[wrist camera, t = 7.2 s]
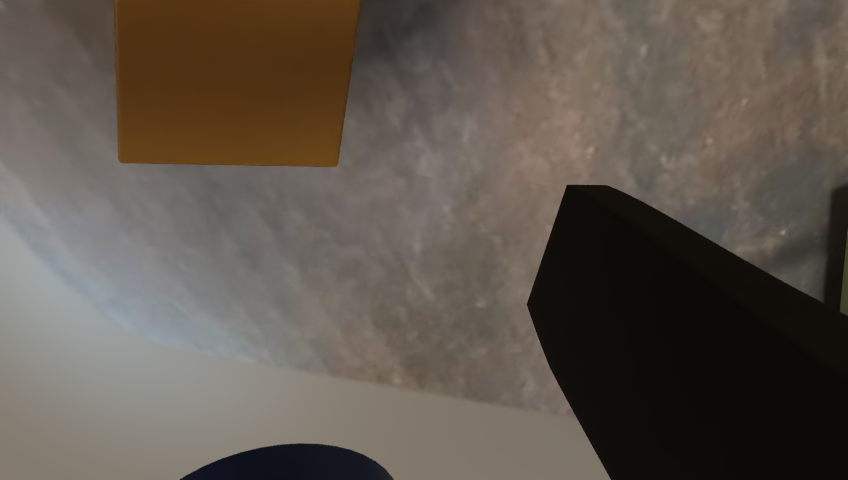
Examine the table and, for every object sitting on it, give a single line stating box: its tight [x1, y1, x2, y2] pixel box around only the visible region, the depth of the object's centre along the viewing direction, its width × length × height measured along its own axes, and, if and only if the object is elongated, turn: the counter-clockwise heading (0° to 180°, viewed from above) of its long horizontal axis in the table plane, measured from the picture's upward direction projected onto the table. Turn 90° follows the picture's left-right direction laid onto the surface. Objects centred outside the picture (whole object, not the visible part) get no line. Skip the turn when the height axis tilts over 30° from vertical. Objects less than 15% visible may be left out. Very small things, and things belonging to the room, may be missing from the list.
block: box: [114, 0, 362, 167], centre depth 15 cm, size 4×4×4 cm
